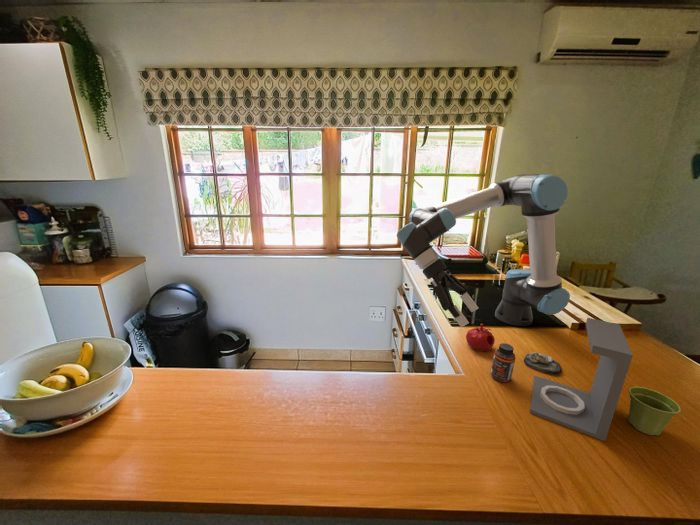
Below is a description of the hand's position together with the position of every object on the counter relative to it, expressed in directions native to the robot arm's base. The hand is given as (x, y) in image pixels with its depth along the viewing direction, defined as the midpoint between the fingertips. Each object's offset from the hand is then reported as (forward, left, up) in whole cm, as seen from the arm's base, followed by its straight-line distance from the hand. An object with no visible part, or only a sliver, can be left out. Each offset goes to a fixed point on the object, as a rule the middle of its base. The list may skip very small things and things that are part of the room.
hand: (470, 317), depth 97 cm
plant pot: (0, +45, -18) cm, 49 cm away
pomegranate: (-16, +2, -18) cm, 24 cm away
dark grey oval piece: (-16, +22, -19) cm, 33 cm away
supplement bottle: (0, +11, -18) cm, 21 cm away
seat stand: (+3, +28, -18) cm, 34 cm away
